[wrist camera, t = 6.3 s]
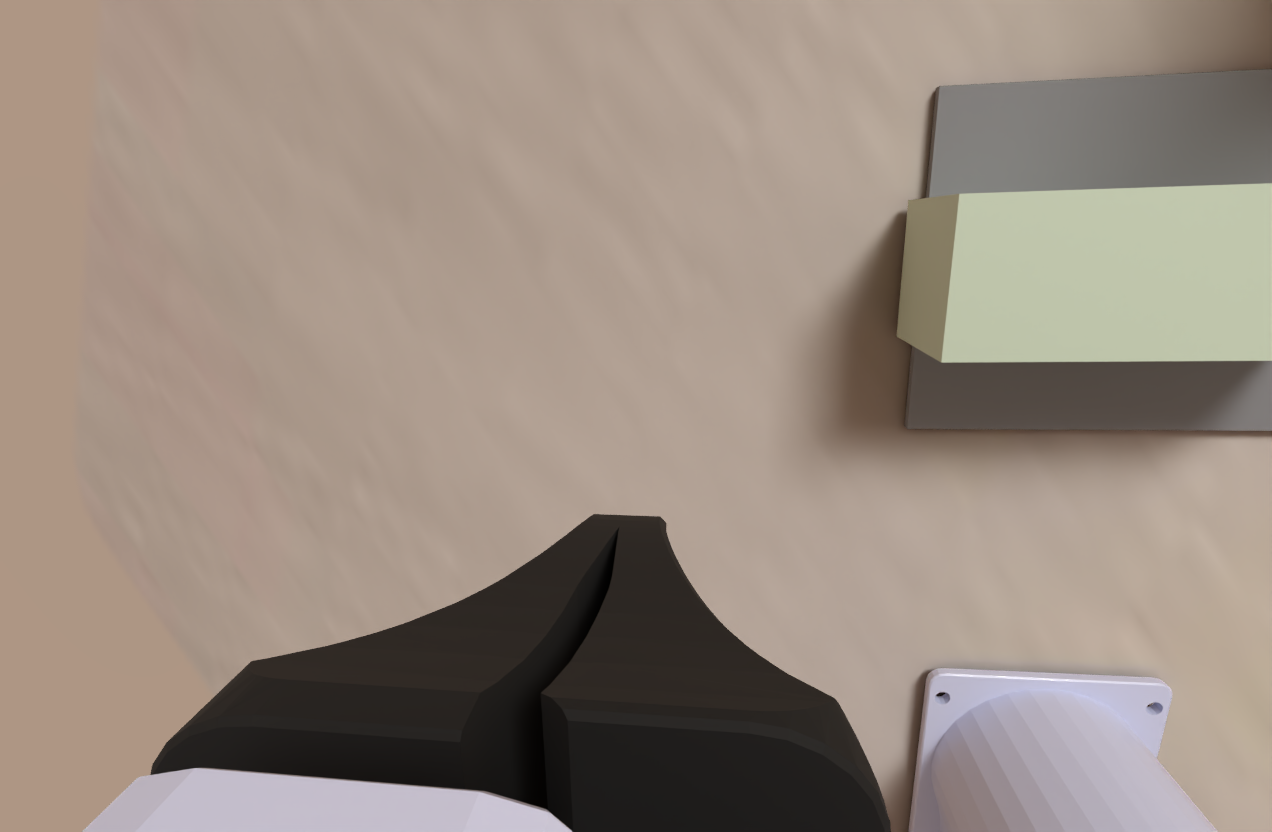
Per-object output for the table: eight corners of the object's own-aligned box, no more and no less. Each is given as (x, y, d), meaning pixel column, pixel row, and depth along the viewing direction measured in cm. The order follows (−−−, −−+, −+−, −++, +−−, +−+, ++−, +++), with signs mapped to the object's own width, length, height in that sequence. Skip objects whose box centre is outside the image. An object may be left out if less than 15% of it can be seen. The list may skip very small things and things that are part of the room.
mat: (1386, 428, 19) (1396, 431, 19) (904, 426, 21) (907, 429, 21) (1502, 59, 17) (1516, 56, 16) (936, 88, 18) (939, 86, 18)
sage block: (896, 336, 20) (1289, 332, 19) (941, 362, 16) (1439, 359, 15) (908, 200, 19) (1327, 186, 18) (959, 193, 15) (1500, 175, 14)
